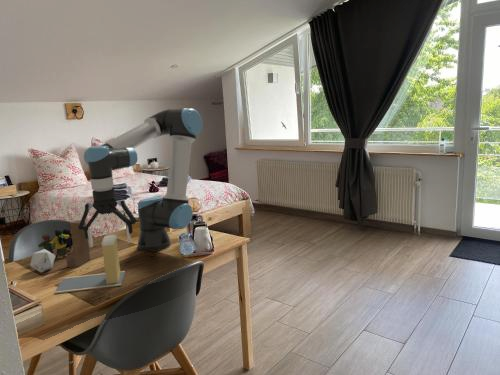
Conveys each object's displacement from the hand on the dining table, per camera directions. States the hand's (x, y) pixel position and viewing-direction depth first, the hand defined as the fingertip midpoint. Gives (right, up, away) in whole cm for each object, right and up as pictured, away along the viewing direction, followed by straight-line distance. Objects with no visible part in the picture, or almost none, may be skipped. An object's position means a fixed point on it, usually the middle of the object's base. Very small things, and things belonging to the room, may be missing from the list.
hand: (110, 244), depth 148 cm
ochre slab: (0, -14, +2) cm, 14 cm away
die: (-33, -13, +15) cm, 38 cm away
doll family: (-31, -9, +33) cm, 47 cm away
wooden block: (-21, -11, +20) cm, 31 cm away
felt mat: (-8, -15, +1) cm, 17 cm away
